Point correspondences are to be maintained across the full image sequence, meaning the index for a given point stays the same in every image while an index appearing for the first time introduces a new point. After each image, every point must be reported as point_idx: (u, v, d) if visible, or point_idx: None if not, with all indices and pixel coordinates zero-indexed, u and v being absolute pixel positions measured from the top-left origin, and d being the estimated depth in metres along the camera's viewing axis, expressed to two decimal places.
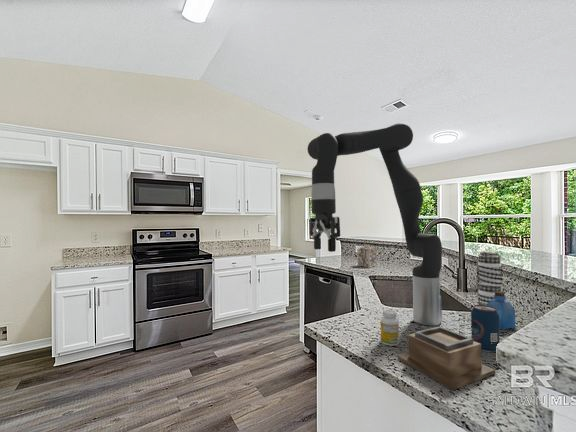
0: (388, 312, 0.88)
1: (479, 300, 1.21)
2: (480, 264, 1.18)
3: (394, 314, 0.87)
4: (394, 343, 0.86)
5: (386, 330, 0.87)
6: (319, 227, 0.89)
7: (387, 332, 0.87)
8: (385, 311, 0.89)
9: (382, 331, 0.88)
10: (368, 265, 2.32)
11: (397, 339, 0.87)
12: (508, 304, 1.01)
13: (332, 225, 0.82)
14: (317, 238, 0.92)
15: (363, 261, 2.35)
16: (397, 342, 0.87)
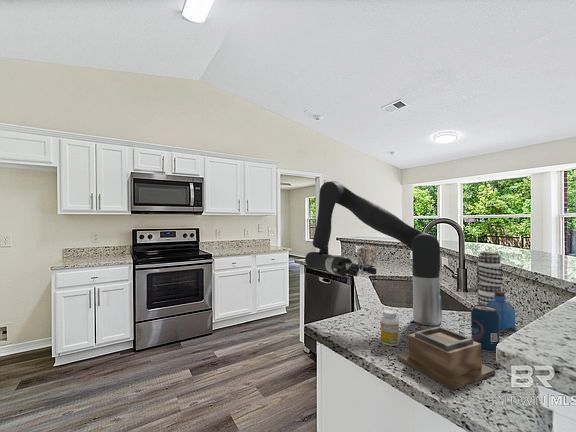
0: (388, 312, 0.88)
1: (479, 300, 1.21)
2: (480, 264, 1.18)
3: (394, 314, 0.87)
4: (394, 343, 0.86)
5: (386, 330, 0.87)
6: None
7: (387, 332, 0.87)
8: (385, 311, 0.89)
9: (382, 331, 0.88)
10: None
11: (397, 339, 0.87)
12: (508, 304, 1.01)
13: (337, 273, 1.03)
14: (368, 270, 1.04)
15: (363, 261, 2.35)
16: (397, 342, 0.87)
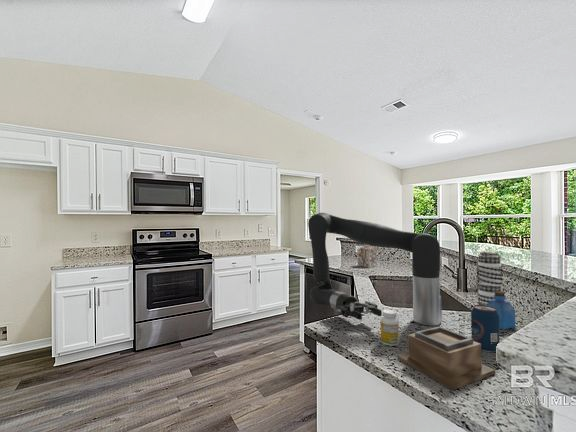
0: (388, 312, 0.88)
1: (479, 300, 1.21)
2: (480, 264, 1.18)
3: (394, 314, 0.87)
4: (394, 343, 0.86)
5: (386, 330, 0.87)
6: None
7: (387, 332, 0.87)
8: (385, 311, 0.89)
9: (382, 331, 0.88)
10: (368, 265, 2.32)
11: (397, 339, 0.87)
12: (508, 304, 1.01)
13: None
14: (373, 310, 1.02)
15: (363, 261, 2.35)
16: (397, 342, 0.87)
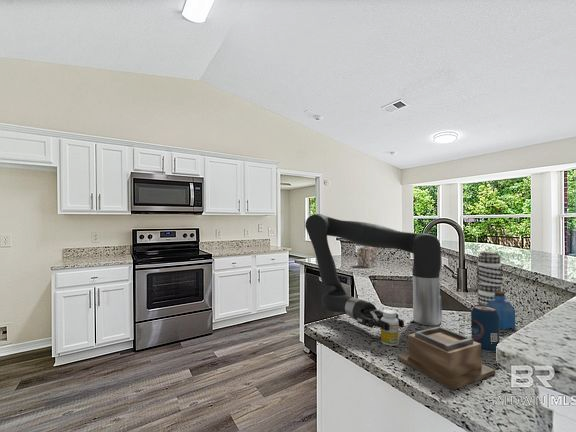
0: (388, 312, 0.88)
1: (479, 300, 1.21)
2: (480, 264, 1.18)
3: (394, 314, 0.87)
4: (394, 343, 0.86)
5: None
6: None
7: (387, 332, 0.87)
8: (385, 311, 0.89)
9: (382, 331, 0.88)
10: (368, 265, 2.32)
11: (397, 339, 0.87)
12: (508, 304, 1.01)
13: None
14: None
15: (363, 261, 2.35)
16: (397, 342, 0.87)
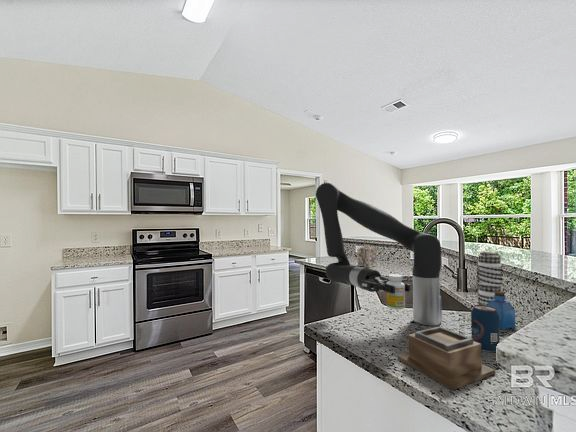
0: (394, 276, 0.86)
1: (479, 300, 1.20)
2: (480, 264, 1.18)
3: (400, 277, 0.85)
4: (400, 307, 0.84)
5: None
6: None
7: (392, 296, 0.85)
8: (391, 275, 0.87)
9: (387, 295, 0.86)
10: (368, 265, 2.32)
11: (403, 302, 0.85)
12: (508, 304, 1.01)
13: None
14: None
15: (363, 261, 2.35)
16: (403, 306, 0.85)
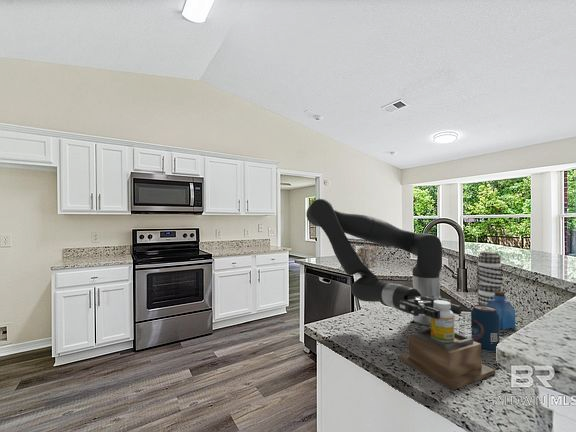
0: (442, 303, 0.74)
1: (479, 300, 1.20)
2: (480, 264, 1.18)
3: (449, 305, 0.73)
4: (449, 340, 0.72)
5: (439, 324, 0.72)
6: None
7: (440, 327, 0.72)
8: (437, 302, 0.75)
9: (434, 325, 0.74)
10: (368, 265, 2.32)
11: (453, 335, 0.72)
12: (508, 304, 1.01)
13: None
14: None
15: (363, 261, 2.35)
16: (453, 338, 0.72)
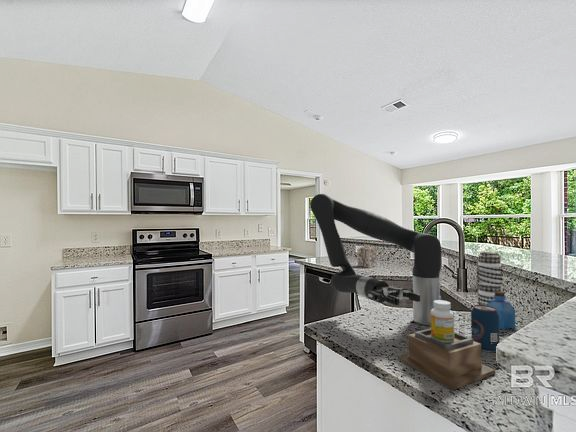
0: (441, 303, 0.74)
1: (479, 300, 1.20)
2: (480, 264, 1.18)
3: (449, 305, 0.73)
4: (449, 340, 0.72)
5: (439, 324, 0.72)
6: None
7: (440, 327, 0.72)
8: (437, 302, 0.75)
9: (434, 325, 0.74)
10: (368, 265, 2.32)
11: (453, 335, 0.72)
12: (508, 304, 1.01)
13: None
14: (409, 296, 0.89)
15: (363, 261, 2.35)
16: (453, 338, 0.72)
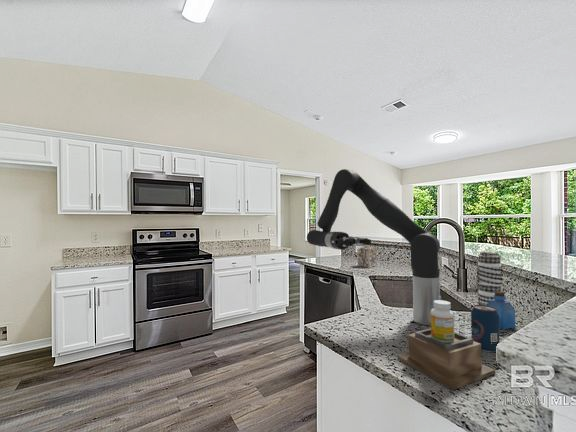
0: (442, 303, 0.74)
1: (479, 300, 1.20)
2: (480, 264, 1.18)
3: (449, 305, 0.73)
4: (449, 340, 0.72)
5: (439, 324, 0.72)
6: None
7: (441, 327, 0.72)
8: (437, 302, 0.75)
9: (434, 325, 0.74)
10: (368, 265, 2.32)
11: (453, 335, 0.72)
12: (508, 304, 1.01)
13: (335, 244, 1.12)
14: (363, 242, 1.12)
15: (363, 261, 2.35)
16: (453, 338, 0.72)
